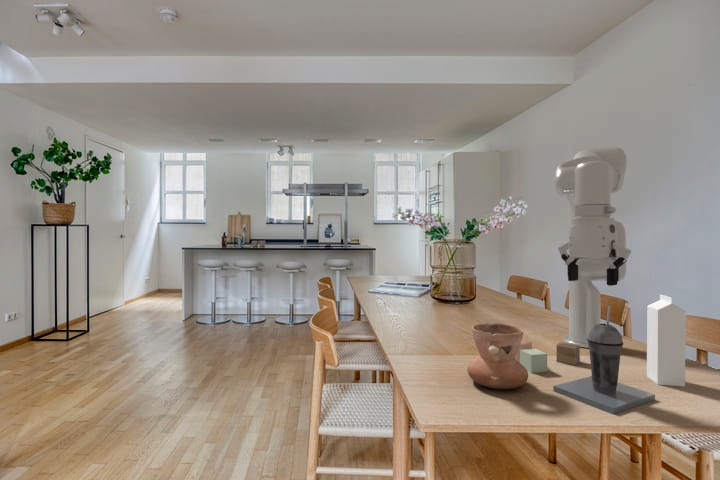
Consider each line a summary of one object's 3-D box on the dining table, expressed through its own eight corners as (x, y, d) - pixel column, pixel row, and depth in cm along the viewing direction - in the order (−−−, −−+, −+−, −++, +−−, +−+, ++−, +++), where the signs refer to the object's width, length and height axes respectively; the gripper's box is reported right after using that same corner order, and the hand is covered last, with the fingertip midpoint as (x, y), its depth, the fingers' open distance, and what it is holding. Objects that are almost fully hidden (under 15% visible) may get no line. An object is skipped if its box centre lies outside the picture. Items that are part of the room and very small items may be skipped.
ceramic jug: (526, 401, 89) (526, 338, 89) (461, 390, 95) (461, 332, 95) (529, 376, 106) (529, 322, 106) (473, 368, 112) (473, 318, 112)
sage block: (535, 366, 114) (535, 348, 114) (547, 371, 109) (547, 353, 109) (519, 367, 113) (520, 349, 113) (531, 373, 108) (531, 354, 108)
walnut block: (561, 358, 121) (561, 341, 121) (579, 361, 118) (579, 344, 118) (556, 361, 118) (556, 345, 118) (575, 365, 114) (575, 348, 114)
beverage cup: (579, 385, 96) (580, 302, 95) (607, 384, 96) (608, 302, 96) (600, 397, 88) (601, 308, 88) (631, 396, 89) (631, 307, 89)
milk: (657, 385, 99) (657, 297, 99) (646, 376, 105) (646, 293, 105) (685, 387, 98) (686, 297, 98) (673, 378, 104) (673, 294, 104)
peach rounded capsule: (519, 358, 121) (519, 338, 121) (536, 363, 116) (536, 343, 116) (505, 360, 119) (505, 340, 118) (522, 366, 113) (522, 345, 113)
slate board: (594, 379, 103) (594, 375, 103) (655, 399, 90) (655, 394, 90) (553, 390, 95) (553, 385, 95) (613, 414, 83) (613, 408, 83)
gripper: (639, 211, 91) (638, 285, 91) (568, 214, 106) (568, 278, 107) (620, 211, 87) (619, 288, 88) (550, 214, 103) (550, 280, 103)
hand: (591, 282), depth 97 cm, fingers open, 9 cm apart
